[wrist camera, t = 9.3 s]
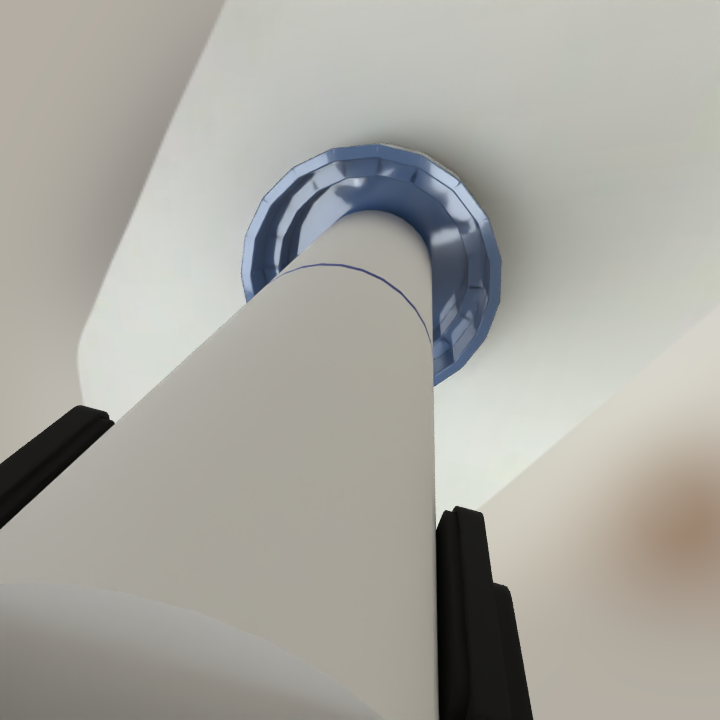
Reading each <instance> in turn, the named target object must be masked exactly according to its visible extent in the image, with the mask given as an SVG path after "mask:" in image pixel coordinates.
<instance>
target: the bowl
mask: <svg viewBox="0 0 720 720" xmlns="http://www.w3.org/2000/svg"><path fill="white" fill-rule="evenodd" d="M364 210H379V211H383V212H388V213H391V214H394V215H396V216H398V217H400V218H402V219H404V220H405V221H406V222H407V223H409V224H410V225H411V226H413V227H414V229H415V230H416V231H417V232H418V233H419V234H420V236H421V237H422V239H423V241H424V242H425V244H426V246H427V249H428V252H429V255H430V259H431V267H432V326H433V387H434V386H436V385H437V384H439V383H440V382H442V381H443V380H445V379H446V378H448V377H449V376H451V375H452V374H454V373H455V372H457V371H458V370H460V369H461V368H462V367H463V366H464V365H465V364H466V362H467V361H468V360H469V359H470V357H471V356H472V355H473V354H474V353H475V351H476V350H477V349H478V348H479V346H480V345H481V344H482V343H483V341H484V340H485V338H486V337H487V335H488V332H489V329H490V327H491V324H492V321H493V319H494V316H495V313H496V311H497V308H498V305H499V303H500V291H501V261H502V260H501V256H500V253H499V249H498V246H497V243H496V240H495V237H494V233H493V230H492V227H491V224H490V221H489V218H488V216H487V215H486V213H485V212H484V210H483V209H482V208H481V206H480V205H479V204H478V202H477V201H476V200H475V198H474V197H473V196H472V194H471V193H470V192H469V190H468V189H467V188H466V186H465V185H464V183H463V182H462V181H461V179H460V178H459V177H458V176H457V175H456V174H455V173H454V172H452V171H451V170H449V169H448V168H446V167H445V166H443V165H442V164H440V163H439V162H437V161H436V160H434V159H433V158H431V157H430V156H428V155H427V154H425V153H423V152H420V151H416V150H412V149H408V148H404V147H400V146H396V145H392V144H388V143H378V144H368V145H359V146H349V147H340V148H333V149H330V150H328V151H326V152H324V153H321V154H319V155H317V156H315V157H313V158H311V159H309V160H307V161H305V162H303V163H301V164H299V165H297V166H294V167H293V168H291V169H290V170H289V171H288V172H287V174H286V175H285V176H284V177H283V178H282V179H281V180H280V181H279V182H278V183H277V184H276V185H275V186H274V187H273V188H272V189H271V190H270V191H269V192H268V193H267V194H266V195H265V196H264V197H263V199H262V200H261V202H260V205H259V207H258V209H257V211H256V213H255V215H254V217H253V220H252V222H251V224H250V226H249V228H248V230H247V233H246V235H245V241H244V250H243V259H242V268H241V277H242V282H243V287H244V292H245V297H246V302H247V303H248V302H249V301H250V300H251V299H252V298H253V297H254V296H255V295H256V294H257V293H258V292H260V291H261V290H262V289H263V288H264V287H265V286H266V285H267V284H268V283H269V282H271V281H272V280H273V279H274V278H275V277H276V276H277V275H278V274H279V273H280V272H281V271H282V270H283V269H285V268H286V267H287V266H288V265H289V264H290V263H291V262H292V261H293V260H294V259H295V258H296V257H298V256H299V255H300V254H301V253H302V252H303V251H304V250H305V249H306V248H307V247H308V246H309V245H311V244H312V243H313V242H314V241H315V240H316V239H317V238H318V237H319V236H320V235H322V234H323V233H324V232H325V231H326V230H327V229H328V228H329V227H330V226H331V225H333V224H334V223H335V222H336V221H338V220H339V219H341V218H343V217H344V216H346V215H349V214H351V213H354V212H358V211H364Z"/></svg>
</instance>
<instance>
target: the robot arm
mask: <svg viewBox="0 0 720 720" xmlns="http://www.w3.org/2000/svg"><path fill="white" fill-rule="evenodd" d="M114 424H115V423H114V421H112V420H110V419H109V415H108V413H107V412H104V411H101V410H97V409H93V408H90V407H86V406H82V405H79V406H76V407H74V408H73V409H71V410H70V411H69V412H67V413H66V414H65V415H64V416H62V417H61V418H60V419H58V420H57V421H56V422H54V423H53V424H52V425H51V426H49V427H48V428H47V429H45V430H44V431H43V432H41V433H40V434H39V435H37V436H36V437H35V438H34V439H32V440H31V441H30V442H28V443H27V444H26V445H25V446H23V447H22V448H20V449H19V450H18V451H17V452H15V453H14V454H13V455H11V456H10V457H9V458H7V459H6V460H5V461H4V462H2V463H1V464H0V529H1V528H3V527H4V526H5V525H6V524H7V523H8V522H9V521H10V520H11V519H12V518H13V517H14V516H16V515H17V514H18V513H19V512H20V511H21V510H22V509H23V508H24V507H25V506H26V505H27V504H29V503H30V502H31V501H32V500H33V499H34V498H35V497H36V496H37V495H38V494H39V493H41V492H42V491H43V490H44V489H45V488H46V487H47V486H48V485H49V484H50V483H51V482H52V481H54V480H55V479H56V478H57V477H58V476H59V475H60V474H61V473H62V472H63V471H64V470H65V469H67V468H68V467H69V466H70V465H71V464H72V463H73V462H74V461H75V460H76V459H77V458H79V457H80V456H81V455H82V454H83V453H84V452H85V451H86V450H87V449H88V448H89V447H90V446H92V445H93V444H94V443H95V442H96V441H97V440H98V439H99V438H100V437H101V436H102V435H104V434H105V433H106V432H107V431H108V430H109V429H110V428H111V427H112V426H113V425H114ZM436 573H437V633H438V693H439V720H533V716H532V710H531V704H530V699H529V693H528V687H527V682H526V676H525V671H524V664H523V659H522V654H521V647H520V642H519V636H518V630H517V625H516V619H515V613H514V608H513V602H512V597H511V594H510V591H509V589H508V588H507V587H506V586H504V585H500V584H497V583H493V579H492V572H491V565H490V559H489V551H488V543H487V536H486V530H485V522H484V517H483V514H482V513H481V512H477V511H474V510H470V509H466V508H463V507H459V506H455V508H454V509H453V511H452V512H451V511H447V510H445V511H444V512H443V515H442V517H441V519H440V522H439V524H438V527H437V529H436Z"/></svg>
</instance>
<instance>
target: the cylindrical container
mask: <svg viewBox="0 0 720 720" xmlns="http://www.w3.org/2000/svg"><path fill="white" fill-rule="evenodd" d="M0 720H439V693H438V633H437V573H436V513H435V453H434V393H433V326H432V267H431V259H430V255H429V252H428V249H427V246H426V244H425V242H424V241H423V239H422V237H421V236H420V234H419V233H418V232H417V231H416V230H415V229H414V227H413V226H411V225H410V224H409V223H407V222H406V221H405V220H404V219H402V218H400V217H398V216H396V215H394V214H391V213H388V212H383V211H379V210H364V211H358V212H354V213H351V214H349V215H346V216H344V217H343V218H341V219H339V220H338V221H336V222H335V223H334V224H333V225H331V226H330V227H329V228H328V229H327V230H326V231H325V232H324V233H323V234H322V235H320V236H319V237H318V238H317V239H316V240H315V241H314V242H313V243H312V244H311V245H309V246H308V247H307V248H306V249H305V250H304V251H303V252H302V253H301V254H300V255H299V256H298V257H296V258H295V259H294V260H293V261H292V262H291V263H290V264H289V265H288V266H287V267H286V268H285V269H283V270H282V271H281V272H280V273H279V274H278V275H277V276H276V277H275V278H274V279H273V280H272V281H271V282H269V283H268V284H267V285H266V286H265V287H264V288H263V289H262V290H261V291H260V292H258V293H257V294H256V295H255V296H254V297H253V298H252V299H251V300H250V301H249V302H248V303H246V304H245V305H244V306H243V307H242V308H241V309H240V310H239V311H238V312H237V313H235V314H234V315H233V316H232V317H231V318H230V319H229V320H228V321H227V322H226V323H225V324H223V325H222V326H221V327H220V328H219V329H218V330H217V331H216V332H215V333H214V334H212V335H211V336H210V337H209V338H208V339H207V340H206V341H205V342H204V343H203V344H201V345H200V346H199V347H198V348H197V349H196V350H195V351H194V352H193V353H192V354H191V355H189V356H188V357H187V358H186V359H185V360H184V361H183V362H182V363H181V364H180V365H178V366H177V367H176V368H175V369H174V370H173V371H172V372H171V373H170V374H169V375H168V376H167V377H165V378H164V379H163V380H162V381H161V382H160V383H159V384H158V385H157V386H156V387H155V388H153V389H152V390H151V391H150V392H149V393H148V394H147V395H146V396H145V397H144V398H143V399H142V400H140V401H139V402H138V403H137V404H136V405H135V406H134V407H133V408H132V409H131V410H130V411H128V412H127V413H126V414H125V415H124V416H123V417H122V418H121V419H120V420H119V421H118V422H117V423H115V424H114V425H113V426H112V427H111V428H110V429H109V430H108V431H107V432H106V433H105V434H104V435H102V436H101V437H100V438H99V439H98V440H97V441H96V442H95V443H94V444H93V445H92V446H90V447H89V448H88V449H87V450H86V451H85V452H84V453H83V454H82V455H81V456H80V457H79V458H77V459H76V460H75V461H74V462H73V463H72V464H71V465H70V466H69V467H68V468H67V469H65V470H64V471H63V472H62V473H61V474H60V475H59V476H58V477H57V478H56V479H55V480H54V481H52V482H51V483H50V484H49V485H48V486H47V487H46V488H45V489H44V490H43V491H42V492H41V493H39V494H38V495H37V496H36V497H35V498H34V499H33V500H32V501H31V502H30V503H29V504H27V505H26V506H25V507H24V508H23V509H22V510H21V511H20V512H19V513H18V514H17V515H16V516H14V517H13V518H12V519H11V520H10V521H9V522H8V523H7V524H6V525H5V526H4V527H3V528H1V529H0Z"/></svg>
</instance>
